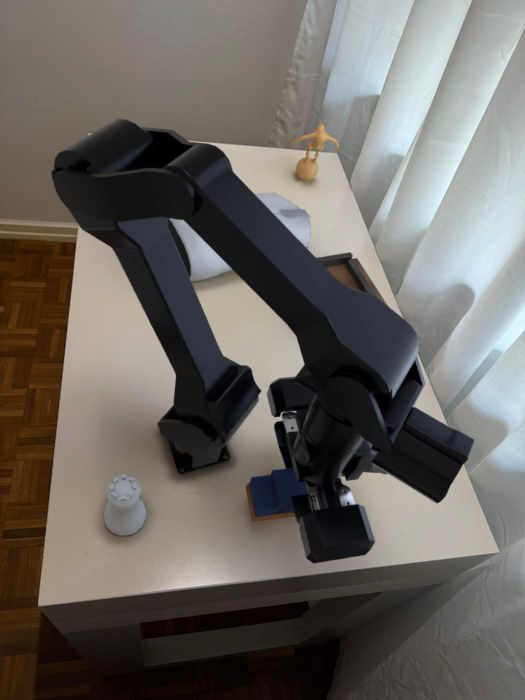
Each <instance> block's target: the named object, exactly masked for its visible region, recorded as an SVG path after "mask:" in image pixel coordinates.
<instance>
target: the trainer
mask: <svg viewBox="0 0 525 700" xmlns="http://www.w3.org/2000/svg"><path fill="white" fill-rule="evenodd" d="M315 487H317V485H316V486H315ZM334 490H335V489H334ZM245 493H246V497H247V498H246V499H247V503H248V509H249V514H250V518H251V522H252V523H257V522H258V523H259V522H265V521H271V520H278V519H286V518H292V517H293V518H294V517H295V513H294V509H293V505H292V501H291V496H297V495H304V494H308V491H307V487H306V484H305V481H304V482H297V479H296V475H295V471H294V468H286V467H285V468H279V469H272V470H271V473H270V474H267V475H266V474H265V475H258V476H257V475H256V476H251V477H250V480H249V482H248V483H246V485H245Z"/></svg>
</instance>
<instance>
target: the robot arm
mask: <svg viewBox="0 0 525 700" xmlns="http://www.w3.org/2000/svg"><path fill="white" fill-rule="evenodd" d="M50 175H51V180H52V183H53V187H54V189H55V193H56V194H57V196H58V198H59V200H60V201H61V202H62V204H63V205H64V206H65V207H66V208H67V210H68V211H69V212H70V214H71V216H72V217H73V219H74V220H75V222H76V223H77V225H78V226H79V228H80V229H81V230H82V231H84V233H87V234H89V235H90V236H92V237H94V238H95V239H96V240H98V241H100V242H101V243H103V244H105V245H106V246H108V247H110V248H111V249H112V250H113V252H114V254H115V256H116V258H117V261H118V262H119V264H120V266H121V268H122V270H123V272H124V274H125V276H126V277H127V279H128V282H129V284H130V286H131V288H132V290H133V292H134V294H135V295H136V298H137V299H138V302H139V304H140V305H141V308H142V310H143V312H144V314H145V316H146V317H147V320H148V322H149V324H150V325H151V328H152V330H153V332H154V334H155V335H156V338H157V340H158V341H159V343H160V345H161V348H162V349H163V352H164V354H165V356H166V358H167V359H168V362H169V364H170V366H171V368H172V369H173V372H174V375H175V381H174V392H173V400H172V401H173V405H172V406H171V407H170V408H169V409H168V410H167V411H166V413H164V414H163V416H162V417H161V418H160V420H159V421H157V423H156V425H157V427H158V430H159V433H160V434H161V436H162V437H164V438H165V439H166V443H167V446H168V449H169V452H170V455H171V458H172V461H173V465H174V467H175V471H176V473H177V474H178V475H179V476H184V475H188V474H191V473H193V472H197V471H201V470H204V469H208V468H211V467H215V466H219V465H222V464H225V463H228V462H230V461H231V454H230V452H229V449H228V447H227V444H228V443H229V442H230V441H231V439H232V438H233V437H234V436H235V434H236V433H237V431H238V430H239V429H240V427H241V426H242V424H243V423H244V422H245V421H246V420H247V418H248V417H249V416H250V414H251V413H252V411H253V410H254V409H255V408H256V406H257V405H258V403H259V401H260V396H259V395H260V394H261V393H262V389H261V388H260V387H259V386H258V384H257V382H256V381H255V378H254V374H253V370H252V368H251V367H250V366H249V365H248V364H247V365H246V364H245V365H244V364H240V363H237V362H236V361H234V360H232V359H230V358H228V357H226V356H225V355H224V354H223V353H222V350H221V347H220V346H219V344H218V343H219V342H218V341H217V339H216V335H215V334H214V331H213V330H212V327H211V325H210V323H209V320H208V317H207V315H206V313H205V311H204V309H203V306H202V303H201V301H200V298H199V297H198V294H197V291H196V289H195V287H194V285H193V282H192V280H190V278H189V275H188V273H187V271H186V268H185V266H184V264H183V261H182V259H181V257H180V254H179V252H178V250H177V247H176V245H175V243H174V240H173V238H172V236H171V233H170V231H169V228H168V218H171V219H176V220H184V221H185V222H186V223H187V224H188V225H189V226H190V227H191V228H192V229H193V230H194V231H195V232H196V233H197V234H198V235H199V236H200V237H201V238H202V239H203V240H204V241H205V242H206V243H207V244H208V245H209V246H210V247H211V248H212V249H213V250H214V251H215V252H216V253H217V254H218V255H219V257H220V258H221V259H222V260H223V261H224V262H225V263H226V264H227V265H228V266H229V267H230V268H231V269H232V270H231V271H233V272H234V273H235V274H236V275H237V276H238V277H239V278H240V279H241V280H242V281H243V282H244V283H245V284H246V285H247V286H248V287H249V288H250V289H251V290H252V291H253V292H254V293H255V294H256V295H257V296H258V297H259V298H260V299H261V300H262V302H264V303H265V304H266V305H267V306H268V307H269V308H270V309H271V310H272V311H273V312H274V313H275V314H276V315H277V316H278V317H279V318H280V319H281V320H282V321H283V322H284V323H285V324H286V326H288V328H289V329H290V330H291V332H292V333H293V334H294V335H295V337H296V340H297V343H298V347H299V350H300V351H299V352H300V354H301V358H302V360H303V366H302V367H301V368H300V370H299V371H298V373H297V374H295V376H287V377H278V378H277V379H275V380H273V381H272V382H271V383H270V384H269V385H268V388H267V392H266V397H267V402H268V405H269V411H270V414H271V416H272V417H273V418H280V417H281V419H282V420H277V421H275V422H274V424H273V429H274V434H275V438H276V442H277V447H278V449H279V453H280V455H281V458H282V460H283V461H282V462H283V464H284V466H285V469H286V468H294V471H295V475H296V479H297V482H304V481H305V484H306V487H307V491H308V494H304V495H297V496H291V501H292V505H293V509H294V513H295V516H294V517H295V521H296V523H297V524H298V526H299V534H300V538H301V539H300V540H301V542H302V547H303V551H304V555H305V558H306V560H308V561H309V562H311V563H312V564H314V565H315V564H320V563H326V562H333V561H337V560H343V559H344V560H345V559H351V558H355V557H362V556H366V555H367V554H368V553H369V552H370V551H371V550H372V548H373V546H374V545H375V543H376V539H375V537H374V532H373V530H372V526H371V524H370V520H369V517H368V514H367V511H366V507H365V506H364V505H362V504H359V503H356V502H355V498H354V496H353V492H352V489H351V488H350V486H348V485H347V484H343V482H342V478H343V477H344V478H345V481H346V482H349V481H356V480H357V481H358V480H359V479H360V477H361V476H362V475H363V474H364V473H365V474H366V473H368V474H382V475H389V476H391V477H392V478H394V479H396V480H397V481H399V482H400V483H402V484H404V485H406V486H407V487H409V488H410V489H412V490H414V491H415V492H417V493H419V494H420V495H422V496H423V497H425V498H427V499H428V500H430V501H431V502H433V503H434V504H436V505H437V504H440V502H442V501H443V500H444V499H445V498H446V497H447V495H448V492H449V490H450V488H451V486H452V484H453V483H454V481H455V480H456V478H457V476H458V474H459V473H460V471H461V469H462V467H463V465H464V464H466V462H468V461H469V459H470V456H471V455H472V452H473V449H474V447H475V444H476V440H475V439H474V438H472V437H471V436H469V435H467V434H466V433H464V432H463V431H462V432H461V431H460V430H458V429H455V428H453V427H451V426H449V425H447V424H445V423H443V422H441V420H438V419H437V418H435V417H433V416H432V415H430V414H428V413H426V412H424V411H423V410H421V409H419V408H418V407H416V406H415V405H416V403H417V401H418V399H419V397H420V395H421V394H422V392H423V389H424V388H425V386H426V379H425V376H424V373H423V370H422V367H421V364H420V361H419V357H418V355H419V342H420V338H419V336H418V334H417V332H416V330H415V329H414V328H413V326H412V324H410V323H409V322H408V321H407V320H406V319H404V317H402V316H401V315H400V314H398V313H397V312H396V311H395V310H393V308H391V307H388V306H389V305H388V304H387V305H388V306H387V305H386V304H385V303H383V302H382V301H381V300H380V299H378V298H377V297H376V296H374V295H371V294H368V293H365V292H361V291H358V290H355V289H351V288H348V287H346V286H345V285H344V284H342V283H341V282H340V281H339V280H337V279H336V278H335V277H334V276H333V275H332V274H331V273H330V272H329V271H328V270H327V269H326V268H325V267H324V266H323V265H322V264H321V263H320V261H319V260H318V259H317V258H318V257H316V256H315V255H314V254H313V253H312V252H311V251H310V250H309V248H308V249H307V248H306V247H305V246H304V245H303V244H302V243H301V242H300V241H299V240H298V239H297V238H296V237H295V236H294V234H293V233H292V232H291V231H290V230H289V229H288V228H287V227H286V226H285V225H284V224H283V223H282V222H281V221H280V220H279V219H278V218H277V217H276V216H275V215H274V214H273V213H272V212H271V211H270V210H269V209H268V207H267V206H266V205H265V204H264V203H263V202H262V201H261V200H260V199H259V198H258V197H257V196H256V195H255V194H256V193H254V192H253V191H252V190H251V188H249V187H248V185H246V183H245V182H244V181H243V180H242V179H241V178H240V177H239V176H238V175H237V174H236V173H235V172H234V169H233V166H232V164H231V161H230V158H229V157H228V156H227V154H226V153H225V152H224V151H223V150H222V149H221V148H219V147H218V146H217V145H214V144H210V143H207V142H198V141H197V142H196V141H190V140H188V139H186V138H185V137H184V136H182V135H181V134H179V133H178V132H177V131H176V130H174V129H169V128H159V127H158V128H157V127H147V126H146V127H145V126H139V125H138V124H137V123H135V122H134V121H131V120H129V119H127V118H125V119H124V118H117V119H114V120H112V121H110V122H109V123H107V124H105V125H104V126H102V127H100V128H99V129H97V130H95V131H93V132H91V133H90V134H89V135H87V136H85V137H83V138H81V139H80V140H78V141H76V142H75V143H72V144H71V145H69V146H68V147H66V148H65V149H63V150H61V151H59V152H58V153H57V154H56V156H55V158H54V161H53V169H52V170H51V171H50ZM225 457H226V458H225ZM181 470H182V471H181ZM316 485H317V487H315V486H316ZM334 489H335V490H334Z"/></svg>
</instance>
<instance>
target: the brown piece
mask: <svg viewBox="0 0 525 700" xmlns="http://www.w3.org/2000/svg"><path fill="white" fill-rule="evenodd" d="M316 258H317V259H318V260H319V261H320V263H321V264H322V265H323V266H324V267H325V268H326V269H327V270H328V271H329V272H330V273H331V274H332V275H333V276H334V277H335V278H336V279H337V280H339V281H340V282H341V283H342V284H344V285H345V286H346V287H348V288H351V289H355V290H358V291H361V292H365V293H368V294H371V295H374V296H376V297H377V298H378V299H380V300H381V301H382V302H383V303H385V304H386V305H387V306H388V307H389V305H388V303H387V302H386V300H385V299H384V297H383V296H382V294H381V293H380V291H379V289H378V288H377V286H376V285H375V284H374V282H373V280H372V279H371V277H370V275H369V274H368V273H367V271H366V269H365V268H364V267H363V265H362V263H361V262H360V260H359V259H358V257H354V255H353V253H352V252H350V251H349V252H342V253H336V254H331V255H325V256H319V257H316Z"/></svg>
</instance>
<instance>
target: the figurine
mask: <svg viewBox="0 0 525 700" xmlns="http://www.w3.org/2000/svg"><path fill="white" fill-rule="evenodd" d="M325 129H326V128H325V125H324V124H323V123H320V124H319V125H318V126H317V128H316V130H315V131H314V132H311V133H309V134H305V135H302V136H300V137H298V138H296V139H295V140H293V141H292V143H291V144H290V147H292V146H293V145H295V143H298V142H300V141H302V140H307V139H312V142H309V143H308V144H307V145H306V148H305V149H306V151H305V156H304V157H301V158H300V159H299V160H298V161H297V163H296V165H295V172H296V176H298V178H299V179H301V180H303V181H311V180H312V179H314V178H316V176H317V174H318V172H319V165H318V162H317V160H318V158H319V157H320V154H319V153H320V152H321V151H323V150H324V147H325V145H324V143H325V142H326V141H329V142H331V143H333V144H334V147H335V150H336V151H339V149H340V148H339V147H340V146H339V143H338V140H337V139H335V138H334V137H332V136H331V135H330V134H328V133H327V132H326V130H325ZM313 150H314V151H315V154H314V158H313V157H310V156H311V153H310V151H313Z"/></svg>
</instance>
